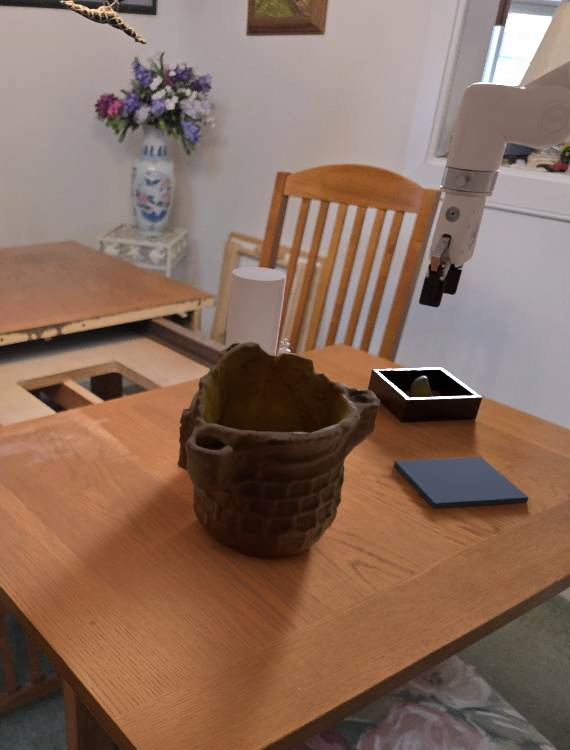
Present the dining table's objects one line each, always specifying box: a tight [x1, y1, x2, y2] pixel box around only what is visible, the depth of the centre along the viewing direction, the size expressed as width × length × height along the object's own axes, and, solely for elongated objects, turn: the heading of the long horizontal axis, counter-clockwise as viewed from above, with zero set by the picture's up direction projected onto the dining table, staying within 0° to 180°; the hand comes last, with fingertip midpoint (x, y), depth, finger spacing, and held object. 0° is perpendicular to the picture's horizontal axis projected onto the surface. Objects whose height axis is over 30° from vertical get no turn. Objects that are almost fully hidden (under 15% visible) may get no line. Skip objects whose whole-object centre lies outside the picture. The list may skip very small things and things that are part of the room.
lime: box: [409, 376, 433, 398], centre depth 122 cm, size 4×5×5 cm
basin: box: [367, 367, 483, 423], centre depth 122 cm, size 14×14×4 cm
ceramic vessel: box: [177, 342, 381, 559], centre depth 81 cm, size 23×24×25 cm
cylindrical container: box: [224, 266, 287, 356], centre depth 100 cm, size 7×7×25 cm
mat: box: [393, 456, 530, 509], centre depth 100 cm, size 14×12×1 cm
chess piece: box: [277, 338, 291, 356], centre depth 121 cm, size 5×5×10 cm
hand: (437, 299), depth 114 cm, fingers open, 9 cm apart
